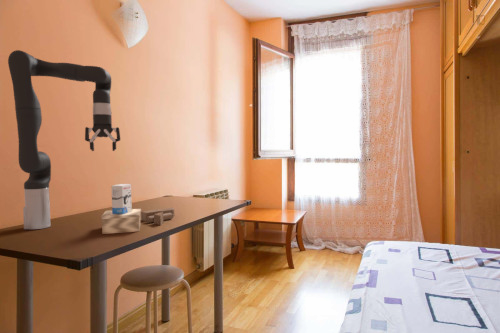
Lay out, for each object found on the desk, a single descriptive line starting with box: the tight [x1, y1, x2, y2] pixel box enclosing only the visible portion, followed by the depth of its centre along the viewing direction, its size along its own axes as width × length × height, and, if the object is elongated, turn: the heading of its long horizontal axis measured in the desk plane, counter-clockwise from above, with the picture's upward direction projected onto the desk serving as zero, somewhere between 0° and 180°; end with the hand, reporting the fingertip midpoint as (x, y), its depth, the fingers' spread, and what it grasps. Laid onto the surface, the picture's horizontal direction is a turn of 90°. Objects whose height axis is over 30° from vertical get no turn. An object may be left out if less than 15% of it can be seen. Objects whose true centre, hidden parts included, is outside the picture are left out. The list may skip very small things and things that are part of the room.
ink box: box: [111, 183, 133, 214], centre depth 144 cm, size 8×5×12 cm, turn 173°
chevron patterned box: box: [100, 208, 142, 235], centre depth 145 cm, size 15×15×7 cm
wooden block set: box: [140, 207, 175, 226], centre depth 162 cm, size 17×6×18 cm
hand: (103, 150), depth 152 cm, fingers open, 8 cm apart
